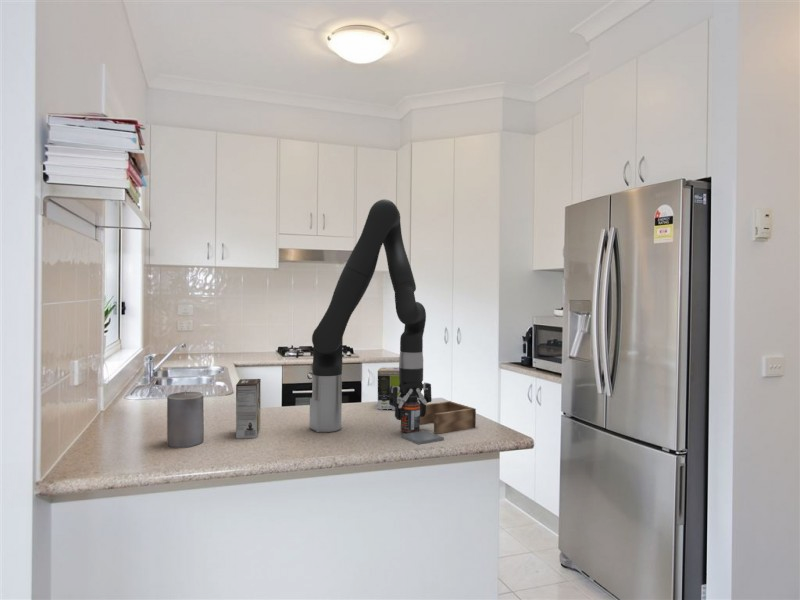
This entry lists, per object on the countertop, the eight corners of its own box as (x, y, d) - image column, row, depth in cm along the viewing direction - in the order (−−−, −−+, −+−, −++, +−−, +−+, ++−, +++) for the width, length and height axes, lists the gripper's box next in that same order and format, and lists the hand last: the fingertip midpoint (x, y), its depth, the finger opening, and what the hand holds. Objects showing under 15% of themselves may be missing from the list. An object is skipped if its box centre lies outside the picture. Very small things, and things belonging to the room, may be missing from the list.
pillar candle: (174, 438, 159) (173, 387, 158) (208, 437, 160) (207, 386, 159) (161, 448, 149) (161, 394, 149) (198, 448, 150) (198, 393, 149)
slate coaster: (418, 444, 155) (418, 441, 155) (401, 436, 163) (401, 434, 163) (443, 439, 160) (443, 437, 160) (425, 432, 168) (425, 430, 168)
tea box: (419, 405, 207) (420, 366, 207) (418, 411, 197) (418, 370, 197) (380, 404, 209) (381, 365, 208) (376, 410, 199) (377, 369, 198)
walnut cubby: (436, 434, 167) (436, 414, 167) (411, 424, 178) (411, 406, 178) (475, 427, 175) (475, 408, 175) (449, 418, 186) (449, 401, 186)
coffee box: (239, 430, 168) (239, 378, 168) (260, 430, 169) (261, 378, 169) (235, 438, 159) (235, 384, 159) (258, 438, 160) (258, 383, 160)
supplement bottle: (396, 430, 170) (397, 394, 170) (411, 427, 174) (411, 392, 174) (409, 435, 165) (409, 397, 165) (423, 431, 169) (424, 395, 169)
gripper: (398, 369, 162) (397, 423, 162) (436, 366, 170) (436, 417, 170) (385, 366, 168) (384, 418, 169) (422, 363, 176) (422, 413, 176)
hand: (410, 418), depth 169 cm, fingers open, 8 cm apart
